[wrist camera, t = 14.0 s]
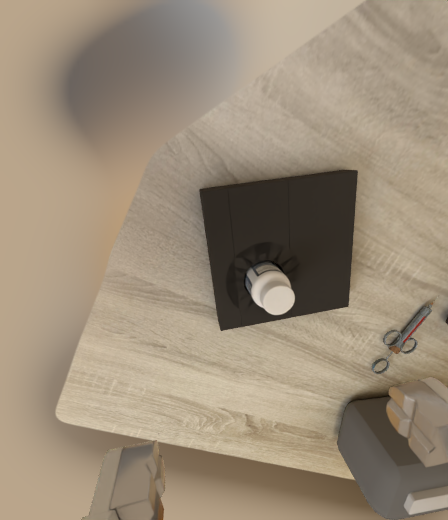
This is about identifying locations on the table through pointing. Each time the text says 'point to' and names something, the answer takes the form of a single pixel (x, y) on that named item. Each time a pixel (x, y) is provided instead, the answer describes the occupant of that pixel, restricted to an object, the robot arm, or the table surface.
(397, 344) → the syringe
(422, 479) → the alarm clock
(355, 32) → the table surface
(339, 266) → the socket pad
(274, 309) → the pill bottle
